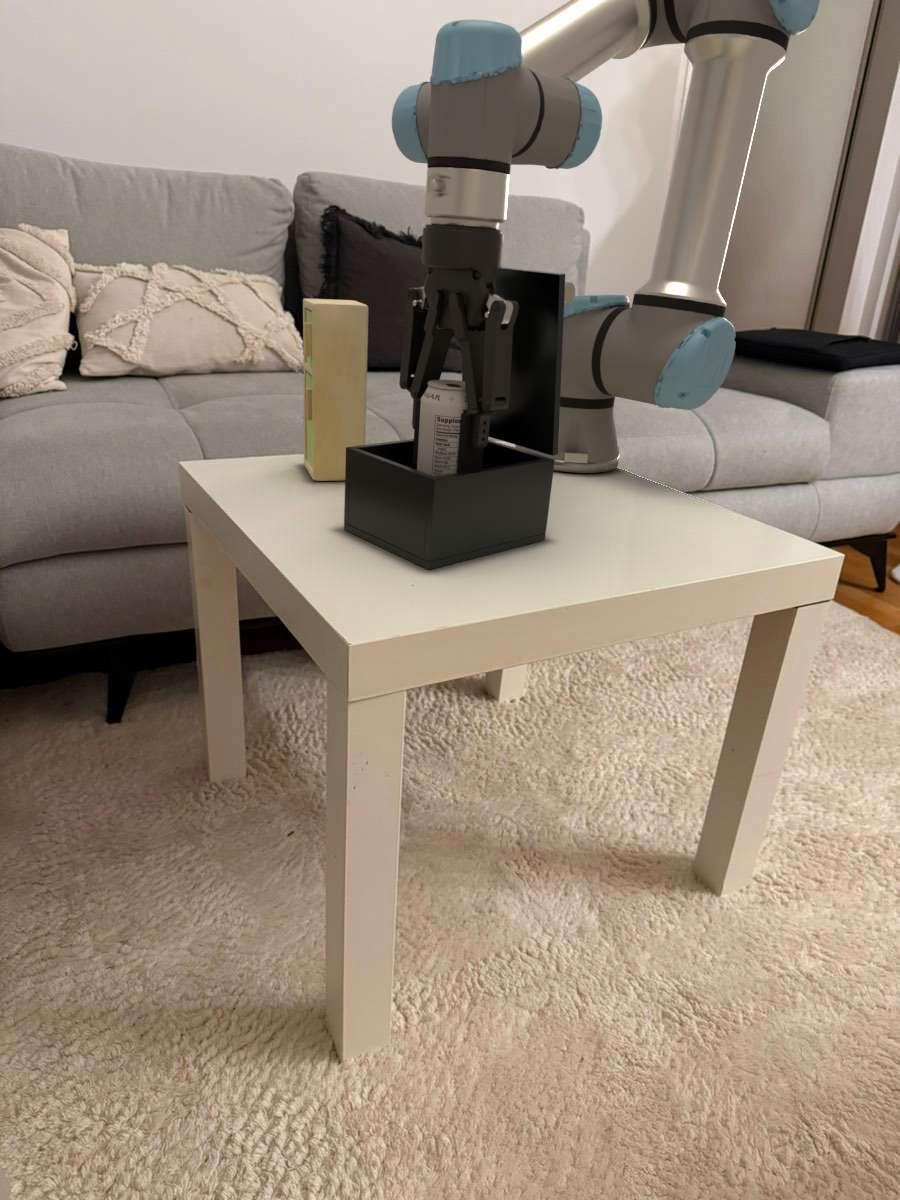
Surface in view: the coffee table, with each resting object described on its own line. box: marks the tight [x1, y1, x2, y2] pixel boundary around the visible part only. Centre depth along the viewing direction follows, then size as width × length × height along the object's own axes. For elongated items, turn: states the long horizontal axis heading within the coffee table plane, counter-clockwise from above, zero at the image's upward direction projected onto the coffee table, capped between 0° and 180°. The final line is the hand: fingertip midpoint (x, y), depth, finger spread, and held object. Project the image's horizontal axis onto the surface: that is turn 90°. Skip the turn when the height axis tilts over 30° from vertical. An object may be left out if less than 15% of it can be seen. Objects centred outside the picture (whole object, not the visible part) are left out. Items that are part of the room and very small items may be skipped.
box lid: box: [461, 266, 576, 456], centre depth 89 cm, size 18×14×6 cm
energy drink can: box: [417, 379, 468, 477], centre depth 86 cm, size 6×6×15 cm
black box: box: [343, 438, 555, 571], centre depth 88 cm, size 17×14×9 cm
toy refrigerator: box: [302, 298, 369, 482], centre depth 105 cm, size 8×7×21 cm
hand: (446, 470), depth 87 cm, fingers closed on energy drink can, 6 cm apart
